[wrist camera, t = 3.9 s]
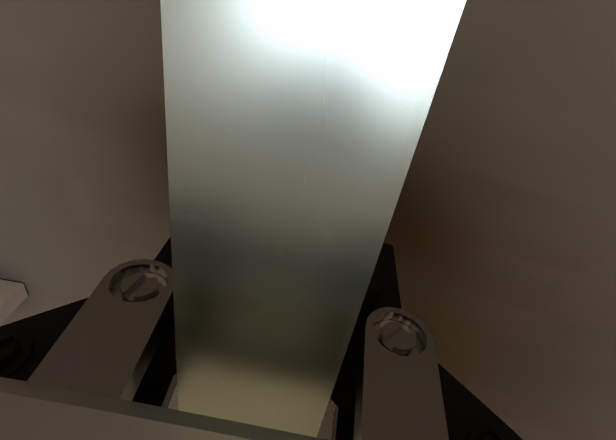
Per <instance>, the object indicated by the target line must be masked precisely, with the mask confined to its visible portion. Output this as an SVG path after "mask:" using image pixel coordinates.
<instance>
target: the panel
mask: <svg viewBox="0 0 616 440" xmlns="http://www.w3.org/2000/svg"><path fill="white" fill-rule="evenodd" d="M160 1H161V24H162V47H163V70H164V93H165V116H166V139H167V161H168V184H169V207H170V230H171V253H172V276H173V299H174V321H175V344H176V367H177V390H178V410H179V411H184V412H189V413H194V414H200V415H205V416H210V417H215V418H220V419H225V420H230V421H235V422H240V423H246V424H251V425H256V426H261V427H266V428H271V429H276V430H281V431H286V432H291V433H296V434H301V435H306V436H311V437H316V438H317V435H318V432H319V429H320V426H321V423H322V420H323V417H324V414H325V411H326V409H327V406H328V403H329V400H330V397H331V394H332V391H333V388H334V385H335V382H336V379H337V376H338V373H339V371H340V368H341V365H342V362H343V359H344V356H345V353H346V350H347V347H348V344H349V341H350V338H351V336H352V333H353V330H354V327H355V324H356V321H357V318H358V315H359V312H360V309H361V306H362V303H363V301H364V298H365V295H366V292H367V289H368V286H369V283H370V280H371V277H372V274H373V271H374V268H375V265H376V263H377V260H378V257H379V254H380V251H381V248H382V245H383V242H384V239H385V236H386V233H387V230H388V228H389V225H390V222H391V219H392V216H393V213H394V210H395V207H396V204H397V201H398V198H399V195H400V193H401V190H402V187H403V184H404V181H405V178H406V175H407V172H408V169H409V166H410V163H411V160H412V157H413V155H414V152H415V149H416V146H417V143H418V140H419V137H420V134H421V131H422V128H423V125H424V122H425V120H426V117H427V114H428V111H429V108H430V105H431V102H432V99H433V96H434V93H435V90H436V87H437V84H438V82H439V79H440V76H441V73H442V70H443V67H444V64H445V61H446V58H447V55H448V52H449V49H450V47H451V44H452V41H453V38H454V35H455V32H456V29H457V26H458V23H459V20H460V17H461V14H462V12H463V9H464V6H465V3H466V0H160Z"/></svg>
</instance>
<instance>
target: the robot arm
mask: <svg viewBox="0 0 616 440" xmlns="http://www.w3.org/2000/svg"><path fill="white" fill-rule="evenodd" d="M176 384H177V367H176V344H175V321H174V299H173V276H172V253H171V237H170V238H169V240H168V241H167V243H166V244H165V245H164V247H163V248H162V250H161V251H160V253H159V254H158V255H157V257H156V258H155V260H147V259H140V260H133V261H129V262H126V263H123V264H120V265H118V266H117V267H115V268H113V269H111V270H110V271H109V272H108V273H107V274H106V275H105V276H104V277H103V279H102V280H101V282H100V283H99V284H98V286H97V287H96V288H95V290H94V291H93V292H92V294H91V295H90V296H89V298H86V299H83V300H80V301H77V302H74V303H71V304H67V305H64V306H61V307H58V308H55V309H52V310H49V311H46V312H43V313H40V314H37V315H34V316H31V317H28V318H25V319H22V320H19V321H16V322H13V323H10V324H7V325H4V326H1V327H0V440H326V439H321V438H316V437H311V436H306V435H301V434H296V433H291V432H286V431H281V430H276V429H271V428H266V427H261V426H256V425H251V424H246V423H240V422H235V421H230V420H225V419H220V418H215V417H210V416H205V415H200V414H194V413H189V412H184V411H179V410H174V409H169V408H168V405H169V403H170V400H171V397H172V395H173V392H174V389H175V387H176ZM330 398H331V399H332V401H333V402H334V403H335V404H336V407H335V411H334V420H333V430H332V439H331V440H522V439H521V438H520V437H519V436H518V435H517V434H516V433H515V432H514V431H513V430H512V429H511V428H510V427H509V426H507V425H506V424H505V423H504V422H503V421H502V420H501V419H500V418H499V417H497V416H496V415H495V414H494V413H493V412H492V411H491V410H490V409H489V408H487V407H486V406H485V405H484V404H483V403H482V402H481V401H480V400H479V399H477V398H476V397H475V396H474V395H473V394H472V393H471V392H470V391H469V390H467V389H466V388H465V387H464V386H463V385H462V384H461V383H460V382H459V381H457V380H456V379H455V378H454V377H453V376H452V375H451V374H450V373H449V372H447V371H446V370H445V369H444V368H443V367H442V366H441V365H440V364H439V363H437V356H436V349H435V343H434V339H433V336H432V333H431V331H430V330H429V328H428V327H427V325H426V324H425V323H424V322H423V321H422V320H420V319H419V318H418V317H417V316H415V315H413V314H412V313H410V312H408V311H405V310H403V309H401V303H400V296H399V288H398V280H397V273H396V265H395V257H394V250H393V246H392V245H391V244H386V243H383V245H382V248H381V251H380V254H379V257H378V260H377V263H376V265H375V268H374V271H373V274H372V277H371V280H370V283H369V286H368V289H367V292H366V295H365V298H364V301H363V303H362V306H361V309H360V312H359V315H358V318H357V321H356V324H355V327H354V330H353V333H352V336H351V338H350V341H349V344H348V347H347V350H346V353H345V356H344V359H343V362H342V365H341V368H340V371H339V373H338V376H337V379H336V382H335V385H334V388H333V391H332V394H331V397H330Z"/></svg>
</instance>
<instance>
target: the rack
mask: <svg viewBox="0 0 616 440" xmlns="http://www.w3.org/2000/svg"><path fill="white" fill-rule="evenodd" d="M27 297H28V294H27V292H26V289H25V286H24V284H23V283H18V282H12V281H7V280H1V279H0V325H1V324H2V323H3V322H4V321H5V320H6V319H7V318H8V317H9V316H10V315H11V314H12V313H13V311H14V310H15V309H16V308H17V307H18V306H19V305H20V304H21V303H22V302H23V301H24V300H25V299H26V298H27Z"/></svg>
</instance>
